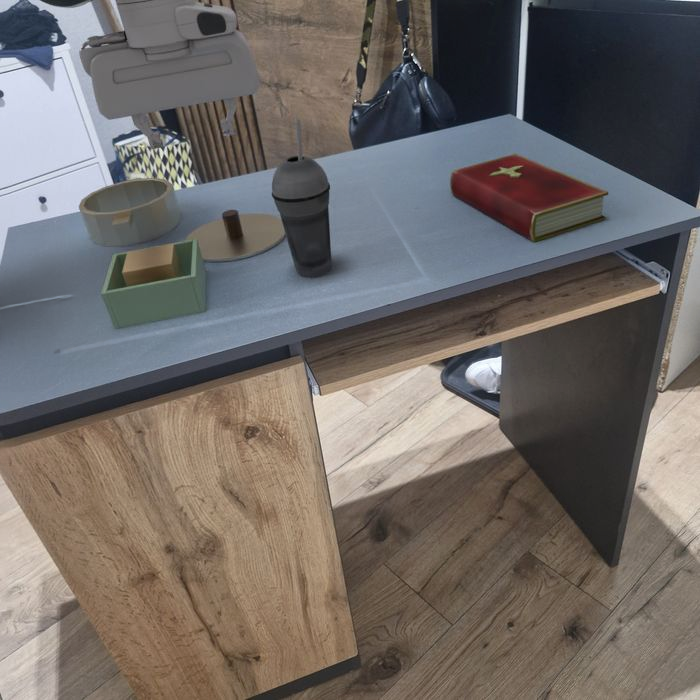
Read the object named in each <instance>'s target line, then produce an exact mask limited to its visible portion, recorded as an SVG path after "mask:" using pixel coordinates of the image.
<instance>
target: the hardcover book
mask: <svg viewBox="0 0 700 700" xmlns="http://www.w3.org/2000/svg"><path fill="white" fill-rule="evenodd" d="M449 179H450V180H449V185H450V186H449V187H450V192H451V194H452V196H454V197H455V198H457V199H459V200H461V201H462V202H464V203H466V204H468V205H469V206H471V207H472V208H474V207H475V209H476V210H478V211H479V212H481V213H483V214H485V215H486V216H488V217H490V218H492V219H493V220H495V221H497V222H499V223H500V224H502V225H504V226H505V227H507V228H509V229H511V230H512V231H514V232H516V233H518V234H519V235H521V236H523V237H524V238H527V239H528V240H530V241H532V242H534V243H537V242H539V241H542V240H546V239H548V238H552V237H556V236H559V235H562V234H565V233H569V232H571V231H575V230H576V229H580V228H584V227H586V226H590V225H593V224H595V223H599V222H602V221H604V220H606V216H605V215H603V214H602V213H603V206H604V205H603V204H604V197H606V196H609V192H608V191H607V190H604V189H602V188H599V187H597V186H595V185H592V184H591V183H588V182H585V181H583V180H580V179H578V178H576V177H573V176H570V175H569V174H566V173H563V172H561V171H560V170H556V169H554V168H552V167H549V166H546V165H544V164H542V163H541V162H540V163H539V162H537V161H535V160H532V159H530V158H528V157H525V156H523V155H521V154H518V153H511V154H508V155H504V156H501V157H498V158H494V159H490V160H487V161H483V162H479V163H475V164H472V165H469V166H465V167H461V168H457V169H454V170H451V172H450V178H449Z"/></svg>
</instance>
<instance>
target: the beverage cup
mask: <svg viewBox="0 0 700 700" xmlns="http://www.w3.org/2000/svg"><path fill="white" fill-rule="evenodd" d="M301 126H302V125H301V119H296V120H295V127H296V145H297V146H296V147H297V155H294V156H291V157H288V158H286V159H284V160H283V161H282V162H281V163H280V164H279V165H277V167H276V169H275V171H274V173H273V177H272V180H271V181H272V182H271V197H272V199H273V200H274V205H275V206H276V210H277V212H278V213H279V216H280V219H281V220H282V223H283V227H284V230H285V234H286V235H285V237H286V241H287V244H288V247H289V251H290V254H291V259H292V262H293V265H294V268H295V270H296V272H297V274H298V276H299V277H301V278H306V279H307V278H308V279H312V278H313V279H314V278H319V277H322V276H325V275H326V274H328V273H329V272H330V271H331V269H332V247H331V246H332V245H331V230H330V212H329V211H330V209H329V205H330V190H331V184H330V183H329V180H328V176H327V173H326V171H325V170H324V168H323V167H322V166H321V165H320V164H319V163H318V162H317V161H316V160H314V159H313V158H311V157H308V156H305V155H303V144H302V128H301Z"/></svg>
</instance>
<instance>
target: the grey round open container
mask: <svg viewBox="0 0 700 700" xmlns="http://www.w3.org/2000/svg"><path fill="white" fill-rule="evenodd" d="M78 210H79V213H80V214H81V217H82V220H83V223H84V226H85V228H86V231H87V234H88V236H89V239H90V240H91V241H92V243H94V245H98V246H101V247H105V248H116V247H117V248H118V247H119V248H120V247H121V248H122V247H127V246H133V245H139V244H143V243H146V242H149V241H152V240H155V239H158V238H161V237H162V236H165V235H166V234H168V233H170V232H172V231H173V230H174V229H175V228H176V227H177V226H178V225H179V224H181V222H182V212H181V209H180V205H179V201H178V198H177V195H176V191H175V187H174V185H173V183H172V182H170V180H167V179H165V178H159V177H146V178H145V177H144V178H143V177H142V178H141V177H138V178H132V179H131V178H130V179H126V180H124V181H123V180H122V181H120V182H116V183H113V184H110V185H106V186H103V187H101V188H99V189H97V190H94V191H92V192H91V193H89V194H88V195H86V196H84V198H82V199H81V200H80V202H79V205H78Z"/></svg>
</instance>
